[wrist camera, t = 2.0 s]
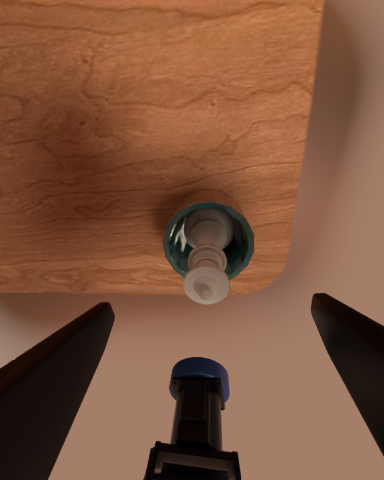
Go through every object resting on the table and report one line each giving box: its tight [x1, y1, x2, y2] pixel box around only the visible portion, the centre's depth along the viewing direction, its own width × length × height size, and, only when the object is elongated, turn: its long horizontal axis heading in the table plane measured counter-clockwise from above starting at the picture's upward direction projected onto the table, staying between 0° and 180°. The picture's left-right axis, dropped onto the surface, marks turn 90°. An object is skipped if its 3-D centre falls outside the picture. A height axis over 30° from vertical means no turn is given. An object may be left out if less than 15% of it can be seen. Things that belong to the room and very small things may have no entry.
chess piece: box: [183, 208, 234, 304], centre depth 14 cm, size 4×4×10 cm
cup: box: [163, 189, 254, 279], centre depth 16 cm, size 6×6×5 cm
